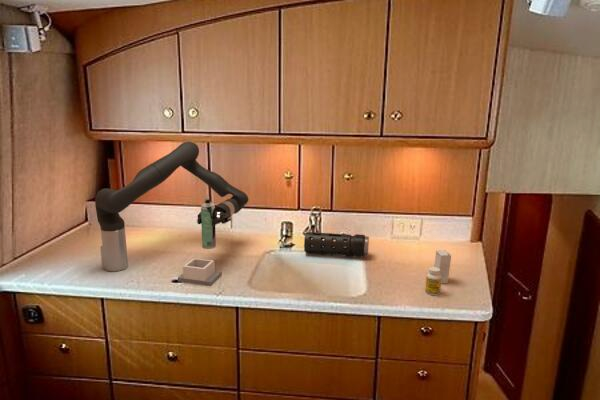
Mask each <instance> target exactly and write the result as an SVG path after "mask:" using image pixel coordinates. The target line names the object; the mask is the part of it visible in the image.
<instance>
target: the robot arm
mask: <svg viewBox="0 0 600 400" xmlns="http://www.w3.org/2000/svg"><path fill="white" fill-rule="evenodd" d="M199 155H200V149H199V145H197V144H196V143H195V142H192V141H184V142H182V143H181V144H180V145H178V146H177V147H175V149H173V150H172V151H170V152H169V153H168V154H166V155H164V156H162V157H161V158H159V159H157V160H155V161H153V162H151V163H150V164H148V165H146V166H145V167H144V168H141V169H140V170H139V171H138V172H137V173H136V175H135V176H134V178H133V180H132V181H131V182H130V183H129V184H127V185H126V186H123V187H121V188H119V189H117V190H115V189H112V188H108V187H107V188H102V189H100V190H98V191H97V193H96V196H95V199H94V204H95V205H94V206H95V211H96V212H95V213H96V219H97V222H98V224H99V226H100V235H101V244H102V245H101V246H100V256H101V259H100V260H101V267H102V269H104V270H105V271H108V272H119V271H123V270H125V269H127V268H128V267H129V263H128V262H129V260H128V249H127V248H128V247H127V239H126V238H127V237H126V235H127V234H126V227H125V225H126V224H125V219H123V217H122V216H121V215H120V214H119V213H121V212H123V211H125V209H127V208H128V207H129V206H130V205H132V204H133V203H134V202H135V201H136V200H137V199H139V198H140V197H141V196H143V195H145V194H147V193H148V192H150V191H151V190H153V189H155V188H156V187H158V186H160V185H161V184H162V183H163V182H165V181H166V180H167V179H168V178H169V177H171V176H172V174H174V173H175V171H176V170H177V169H179V168H180V167H181V168H183V169H184V170H186V171H187V172H189V173H190V174H192V175H194V176H195V177H196V178H198V179H200V180H201V181H202V182H203V183H204V184H206V185H207V186H208V187H210V188H211V189H212V190H213V191H214V192H215V193H216V194H217V195H218V196H219V197H221V198H224V197H227V195H232V196H231V197H230V198H227V199H226V200H224V201H221V202H220V203H218V204H216V205H215V219H214V220H212V226H214V225H215V226H216V225H219V224H223V225H224V224H226V223H228V222H231V221H232V216H233V215H234V214H238V213H239V212H240V211H241V210H242V209H243V208H244V207H245V206H246V205H247V203H248V202H249V196H248V195H247V194H246V192H244V191H242V190H241V189H239V188H237V187H236V186H233V185H232V184H230V183H229V182H228V181H227V180H226V179H224V177H223V176H221V175H219V174H218V173H217V172H214V171H212V170H209V169H208V168H205V167H204V166H203V165H201V164H200V163H199V162H198V161H197V159H198V157H199ZM196 219H197V220H196V221H197V222H196V223H197V225H201V211H200V212H199V213H198V214H197V218H196Z"/></svg>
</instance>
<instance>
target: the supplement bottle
mask: <svg viewBox="0 0 600 400" xmlns="http://www.w3.org/2000/svg"><path fill="white" fill-rule="evenodd" d="M439 273H440V269H439V268H437V267H434V266H431V267H429V268H428V273H427V274H426V276H425V277H426V278H425V279H426V281H425V288H424V289H425V294H427V293H428V294H427V295H429V294H430V296H439V295H440V294H441V287H442V286H441V285H442V284H441V275H440V274H439ZM438 294H439V295H438Z"/></svg>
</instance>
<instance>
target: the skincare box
mask: <svg viewBox="0 0 600 400" xmlns="http://www.w3.org/2000/svg"><path fill="white" fill-rule="evenodd" d="M434 256H435V258H434V264H433V265H434V266H433V267H437V268H439V269H440V273H439V274H440V275H441V283H446V284H448V282H449V276H450V269H451V262H452V254H450V252H449V251H448V250H447V249H436V250H435V255H434Z"/></svg>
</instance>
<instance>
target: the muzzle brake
mask: <svg viewBox="0 0 600 400" xmlns="http://www.w3.org/2000/svg"><path fill="white" fill-rule="evenodd" d="M303 240H304V242H303V243H304V244H303V248H304V252H305V253H306V254H308V255H309V254H311V255H324V256H325V255H326V256H327V255H330V256H333V255H343V256H345V257H350V258H354V257H355V256H356V257H365V256H368V255H369V244H370V241H369V240H370V237H369V236H366V235H365V234H359V233H358V234H354V235H352V234H347V233H346V234H345V233H330V232H329V233H328V232H311V231H306V232H305V235H304V239H303Z"/></svg>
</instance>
